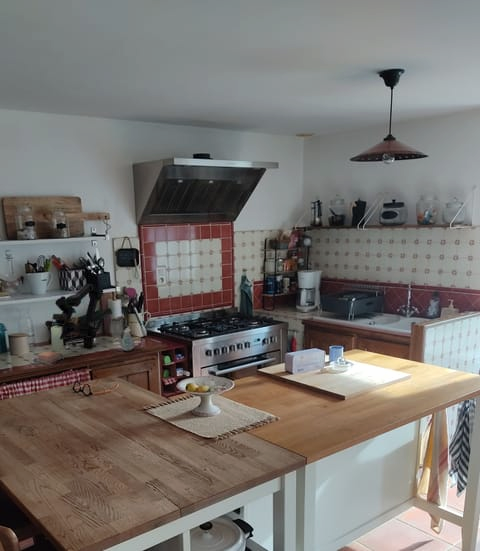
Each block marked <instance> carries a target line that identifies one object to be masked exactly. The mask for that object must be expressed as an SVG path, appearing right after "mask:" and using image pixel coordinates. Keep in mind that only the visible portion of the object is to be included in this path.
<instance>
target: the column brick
mask: <svg viewBox="0 0 480 551" xmlns="http://www.w3.org/2000/svg"><path fill="white" fill-rule="evenodd" d="M50 332H51V338H52V339H51V338H50V339H51V351H53V352H59V351H63V350H64V338H63V339H60V336H61V334H62V332H63V327H62V326H59V325H55V326H53V327H51V330H50Z"/></svg>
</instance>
